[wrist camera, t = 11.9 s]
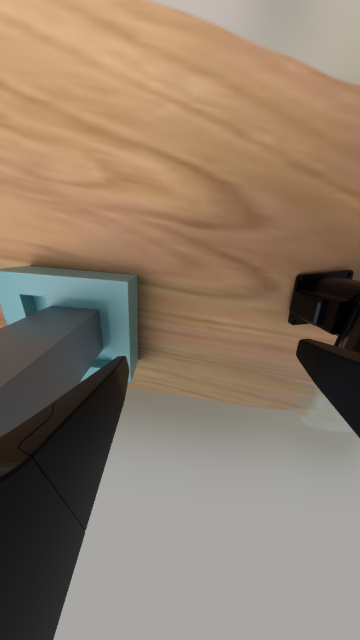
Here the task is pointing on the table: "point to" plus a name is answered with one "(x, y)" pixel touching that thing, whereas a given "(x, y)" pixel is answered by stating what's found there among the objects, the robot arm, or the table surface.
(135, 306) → the teal base brick
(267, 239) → the table surface
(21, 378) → the grey knobbed block
